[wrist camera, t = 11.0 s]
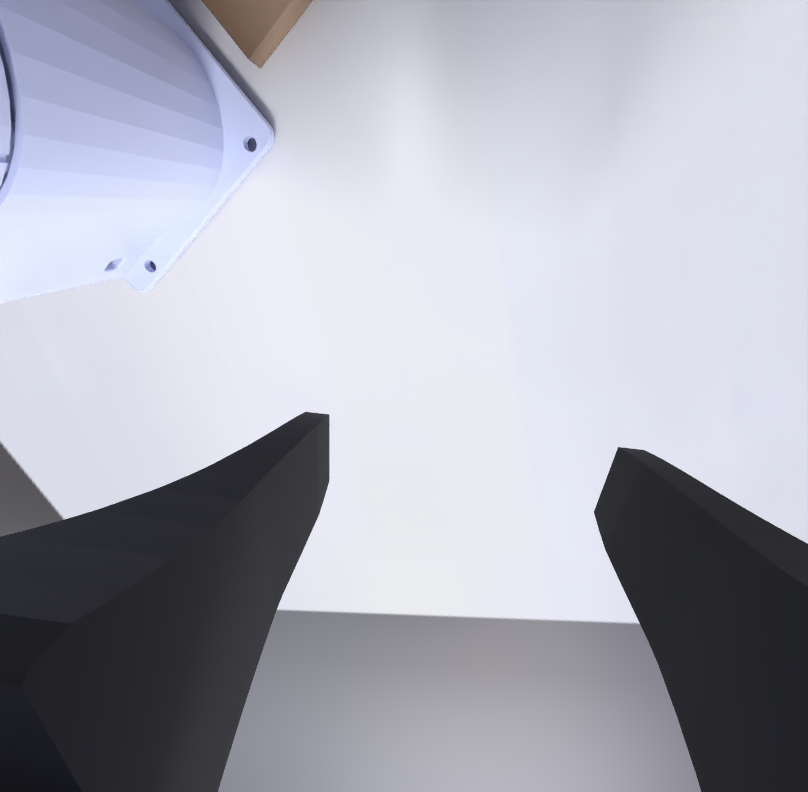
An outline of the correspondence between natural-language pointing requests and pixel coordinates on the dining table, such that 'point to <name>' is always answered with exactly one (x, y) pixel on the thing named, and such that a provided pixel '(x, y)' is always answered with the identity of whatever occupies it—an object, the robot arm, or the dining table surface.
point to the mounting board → (257, 23)
